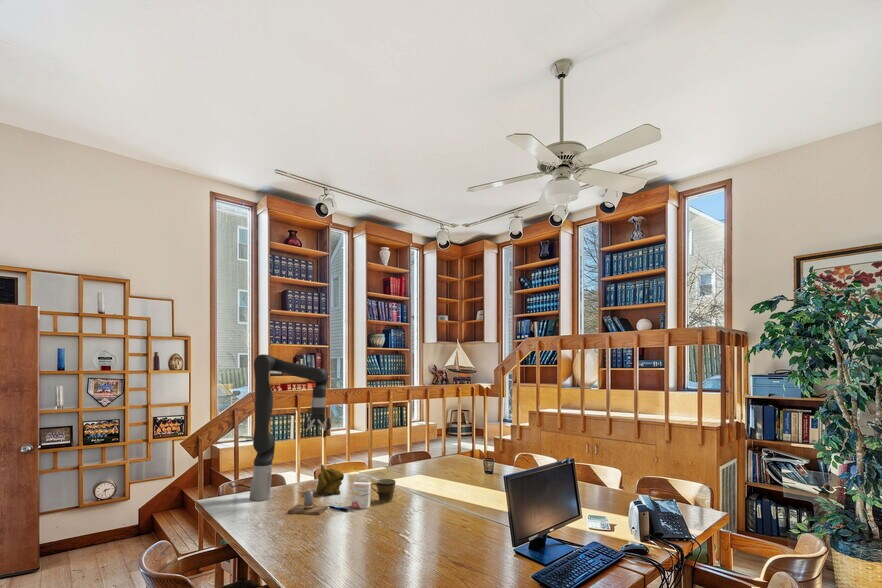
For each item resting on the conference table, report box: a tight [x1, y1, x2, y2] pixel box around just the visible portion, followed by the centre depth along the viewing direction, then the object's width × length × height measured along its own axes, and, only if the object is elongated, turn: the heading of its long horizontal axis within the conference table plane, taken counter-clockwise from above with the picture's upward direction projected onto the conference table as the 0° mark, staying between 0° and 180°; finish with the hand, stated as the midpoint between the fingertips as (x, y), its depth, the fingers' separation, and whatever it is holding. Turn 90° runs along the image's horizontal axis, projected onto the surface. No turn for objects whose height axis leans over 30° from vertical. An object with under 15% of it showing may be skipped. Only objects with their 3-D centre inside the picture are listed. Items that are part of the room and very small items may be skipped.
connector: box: [303, 488, 314, 509], centre depth 232 cm, size 4×4×9 cm
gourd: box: [315, 464, 345, 495], centre depth 264 cm, size 14×14×14 cm
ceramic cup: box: [371, 478, 397, 504], centre depth 250 cm, size 13×10×10 cm
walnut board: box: [287, 503, 329, 516], centre depth 231 cm, size 16×10×1 cm, turn 82°
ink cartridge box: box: [351, 474, 372, 509], centre depth 240 cm, size 9×5×15 cm, turn 84°
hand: (316, 437), depth 254 cm, fingers open, 8 cm apart
